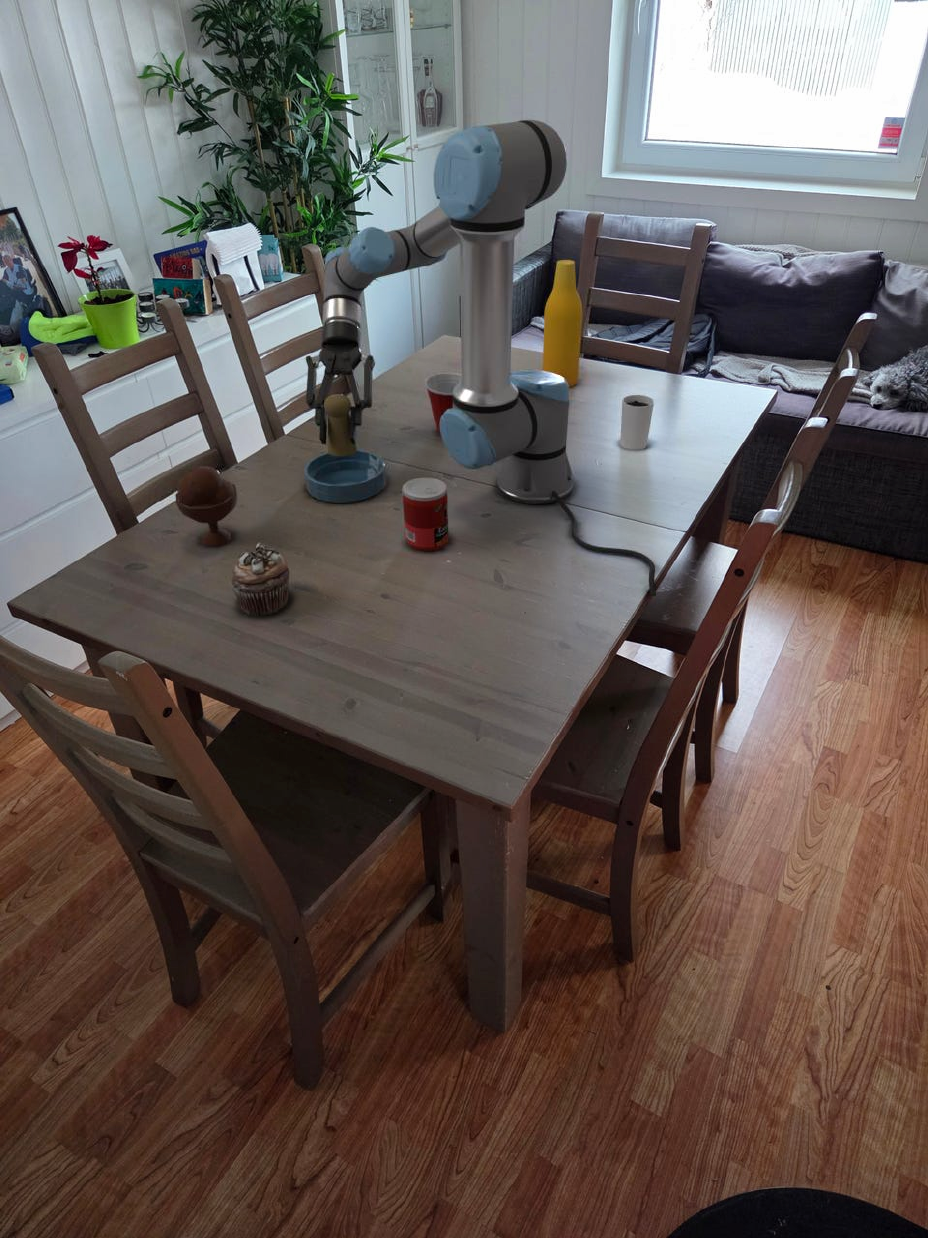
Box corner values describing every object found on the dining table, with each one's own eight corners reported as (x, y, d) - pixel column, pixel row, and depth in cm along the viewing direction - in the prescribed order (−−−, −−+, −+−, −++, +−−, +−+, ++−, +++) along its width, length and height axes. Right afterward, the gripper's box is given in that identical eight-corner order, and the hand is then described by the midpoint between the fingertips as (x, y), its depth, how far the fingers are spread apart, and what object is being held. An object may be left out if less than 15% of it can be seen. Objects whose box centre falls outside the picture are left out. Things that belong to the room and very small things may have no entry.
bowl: (398, 491, 169) (397, 473, 167) (322, 511, 163) (320, 493, 161) (368, 460, 180) (366, 443, 178) (296, 477, 175) (293, 460, 172)
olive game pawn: (328, 444, 169) (321, 391, 163) (358, 442, 170) (352, 389, 163) (327, 457, 164) (319, 403, 158) (357, 455, 165) (351, 401, 158)
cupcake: (261, 579, 145) (251, 529, 139) (305, 595, 141) (297, 544, 134) (222, 608, 138) (210, 557, 132) (267, 625, 134) (257, 573, 128)
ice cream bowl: (256, 528, 158) (242, 455, 149) (224, 558, 150) (207, 484, 141) (208, 520, 161) (191, 448, 152) (174, 549, 153) (154, 475, 144)
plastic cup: (446, 446, 185) (444, 394, 178) (417, 431, 192) (414, 380, 185) (483, 432, 190) (483, 381, 183) (454, 418, 197) (453, 368, 190)
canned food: (444, 553, 150) (441, 499, 143) (401, 549, 151) (396, 495, 145) (453, 531, 156) (451, 478, 149) (411, 528, 157) (408, 475, 151)
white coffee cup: (611, 443, 185) (615, 399, 179) (633, 435, 188) (637, 392, 182) (633, 453, 180) (638, 409, 174) (655, 445, 183) (660, 401, 177)
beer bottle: (539, 387, 211) (543, 266, 194) (544, 373, 218) (549, 256, 201) (575, 389, 210) (583, 267, 192) (580, 376, 217) (587, 257, 199)
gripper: (390, 336, 168) (387, 447, 165) (300, 337, 169) (296, 448, 166) (384, 318, 161) (381, 433, 158) (291, 319, 162) (286, 434, 159)
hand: (337, 441), depth 162 cm, fingers closed on olive game pawn, 5 cm apart
